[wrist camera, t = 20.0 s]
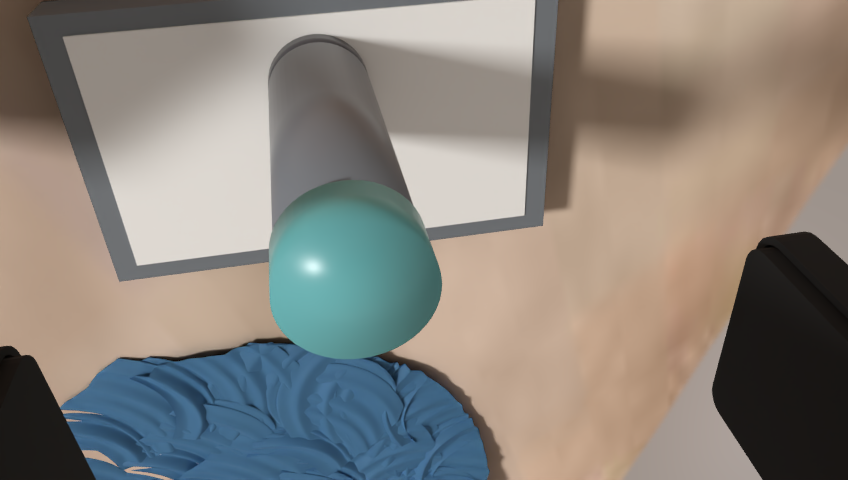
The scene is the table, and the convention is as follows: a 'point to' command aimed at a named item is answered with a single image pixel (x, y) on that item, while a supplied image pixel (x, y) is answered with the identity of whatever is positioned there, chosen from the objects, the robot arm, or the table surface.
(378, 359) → the decorative plate
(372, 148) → the marker
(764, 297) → the robot arm
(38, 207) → the table surface
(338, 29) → the drawing board
